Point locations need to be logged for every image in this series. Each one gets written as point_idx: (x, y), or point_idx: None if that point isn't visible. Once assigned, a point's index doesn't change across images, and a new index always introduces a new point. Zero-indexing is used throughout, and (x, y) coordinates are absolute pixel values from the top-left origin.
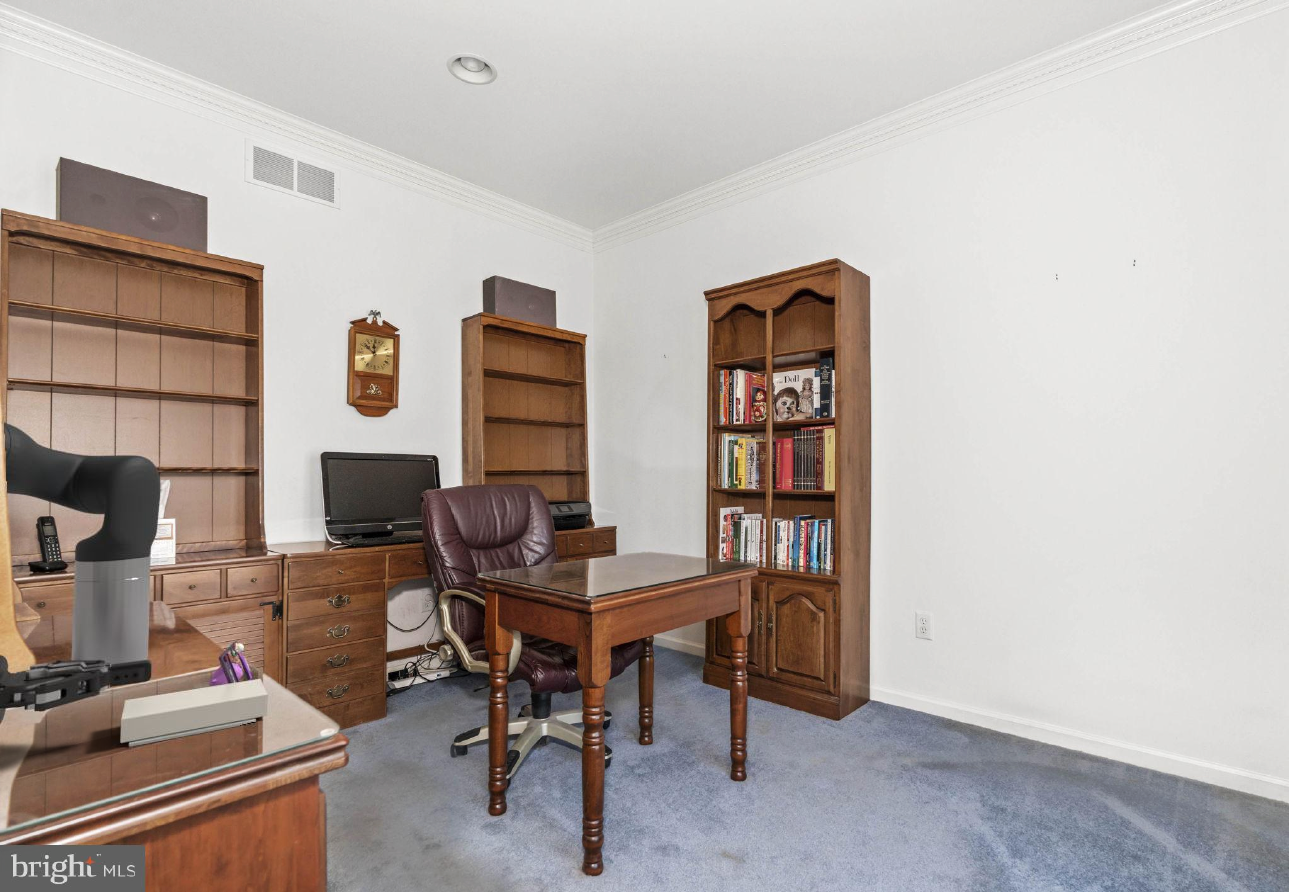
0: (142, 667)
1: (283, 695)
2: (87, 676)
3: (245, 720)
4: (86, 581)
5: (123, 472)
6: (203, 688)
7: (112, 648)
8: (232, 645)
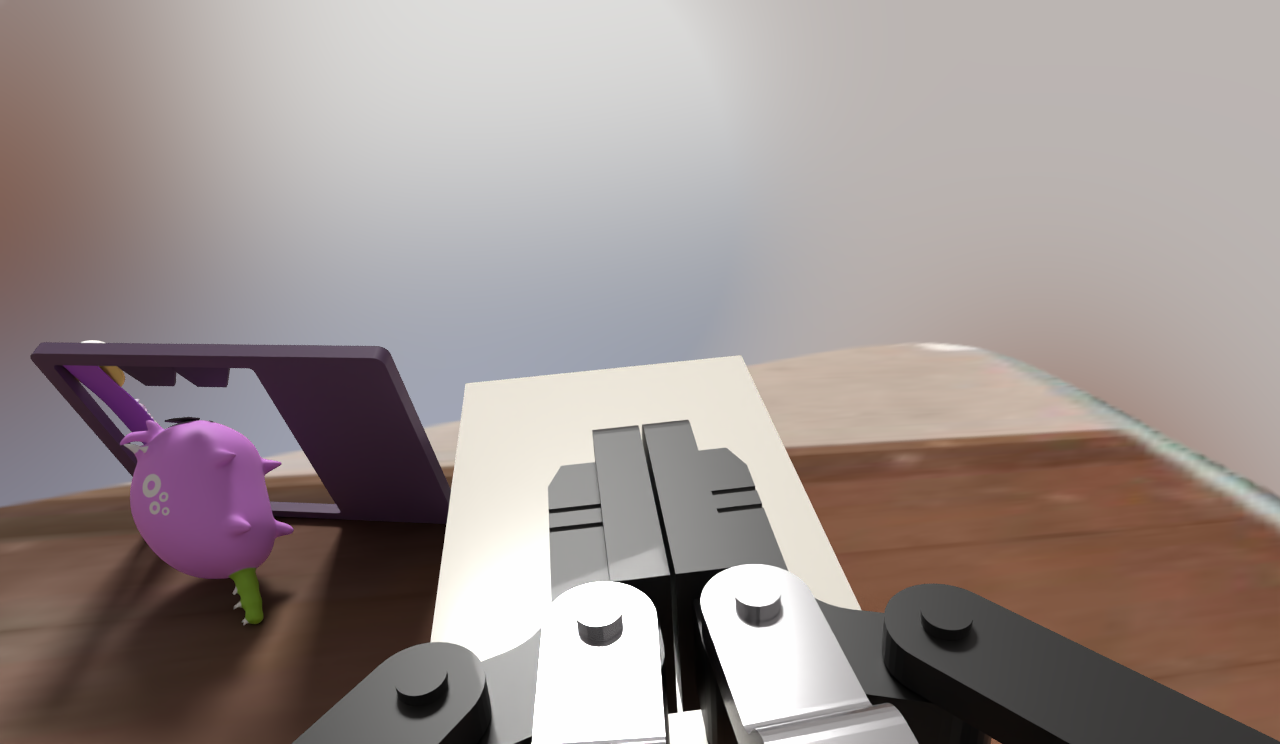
0: (734, 454)
1: (451, 426)
2: (1063, 649)
3: None
4: None
5: None
6: (460, 512)
7: None
8: (134, 344)
